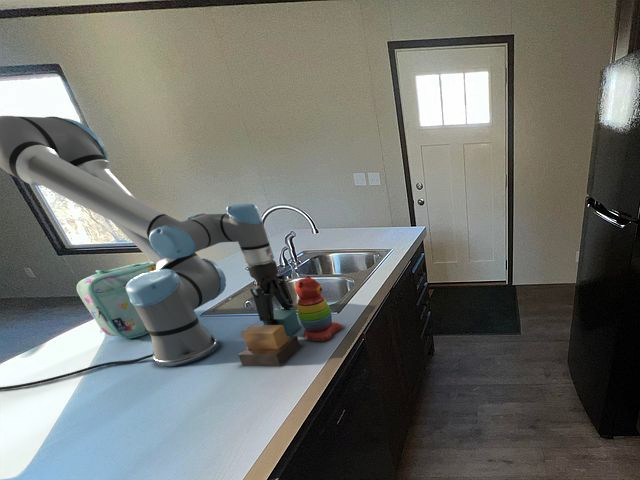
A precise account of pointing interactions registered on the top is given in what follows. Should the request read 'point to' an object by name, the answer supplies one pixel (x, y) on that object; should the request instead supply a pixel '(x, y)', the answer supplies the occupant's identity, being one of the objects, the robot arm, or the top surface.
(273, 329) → the oak brick
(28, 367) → the top surface
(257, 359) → the walnut base
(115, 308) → the lunch box
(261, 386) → the top surface
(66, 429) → the top surface
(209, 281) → the robot arm
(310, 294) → the stacking bear
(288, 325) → the teal cube
